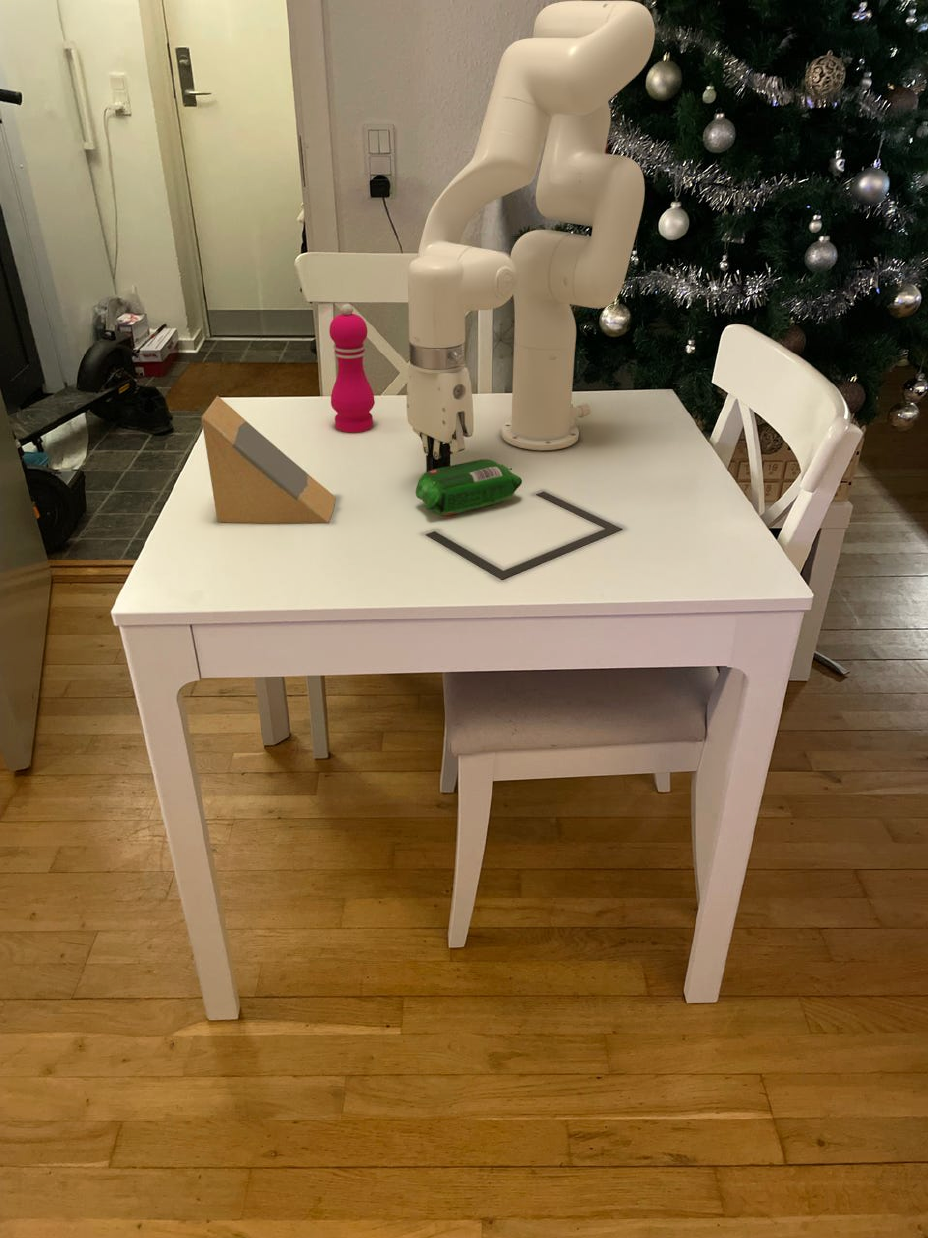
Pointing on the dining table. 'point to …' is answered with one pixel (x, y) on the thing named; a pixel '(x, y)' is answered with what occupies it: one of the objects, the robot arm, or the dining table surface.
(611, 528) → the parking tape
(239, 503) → the sandwich container
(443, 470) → the snack package
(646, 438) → the dining table surface
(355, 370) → the pepper mill
